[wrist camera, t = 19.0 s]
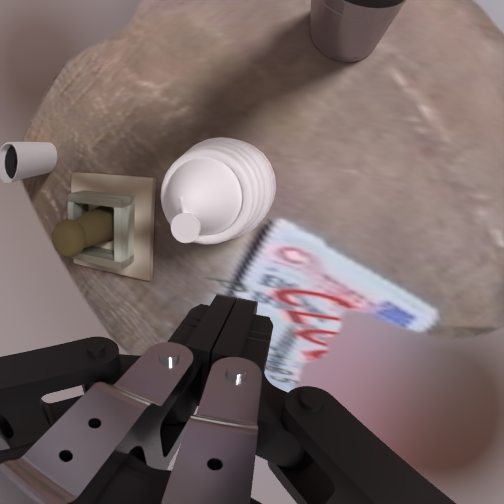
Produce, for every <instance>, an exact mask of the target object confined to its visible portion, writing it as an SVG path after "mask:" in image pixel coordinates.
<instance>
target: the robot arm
mask: <svg viewBox="0 0 504 504" xmlns="http://www.w3.org/2000/svg"><path fill="white" fill-rule="evenodd" d="M405 1H406V0H311V19H310V32H311V37H312V40H313V42H314V44H315V45H316V47H317V48H318V49H319V50H320V51H321V52H322V53H323V54H325V55H326V56H328V57H330V58H332V59H334V60H338V61H341V62H356V61H359V60H362V59H364V58H366V57H368V56H369V55H370V54H371V53H372V51H373V50H374V48H375V47H376V45H377V44H378V43H379V41H380V40H381V38H382V36H383V35H384V33H385V32H386V30H387V29H388V27H389V26H390V24H391V23H392V21H393V20H394V18H395V17H396V15H397V14H398V12H399V10H400V9H401V7H402V6H403V4H404V3H405ZM257 305H258V302H257V301H252V300H246V299H241V298H238V299H237V298H235V297H230V296H224V295H219V294H217V295H216V297H215V298H214V300H213V301H212V303H211V305H210V306H208V305H203V304H200V305H198V306H196V307H194V308H193V309H191V310H190V312H189V313H188V314H187V316H186V318H184V320H183V321H182V322H181V324H180V325H179V327H178V328H177V329H176V331H175V332H174V334H173V335H172V336H171V338H170V339H169V340H168V342H163V343H158V344H155V345H153V346H151V347H150V348H148V349H147V350H146V352H145V353H144V354H143V355H142V356H135V355H121V354H119V348H118V346H117V344H116V343H115V342H114V341H112V340H111V339H108V338H104V337H90V338H86V339H81V340H77V341H73V342H68V343H64V344H60V345H55V346H51V347H46V348H41V349H37V350H32V351H27V352H23V353H18V354H13V355H8V356H3V357H0V504H261V503H260V502H258V501H256V500H254V499H252V498H251V489H252V480H253V472H254V471H253V470H254V463H255V455H257V456H259V457H262V458H263V459H266V460H267V461H268V466H269V468H270V469H271V470H272V472H273V473H274V474H275V476H276V477H277V479H278V480H279V481H280V482H281V484H282V485H283V486H284V488H285V489H286V490H287V491H288V493H289V494H290V495H291V496H292V497H293V499H294V500H295V501H296V503H297V504H456V503H455V502H454V501H452V500H451V499H450V498H449V497H447V496H446V495H445V494H444V493H442V492H441V491H440V490H439V489H437V488H436V487H435V486H434V485H433V484H431V483H430V482H429V481H428V480H426V479H425V478H424V477H423V476H421V475H420V474H419V473H418V472H417V471H416V470H415V469H413V468H412V467H411V466H410V465H409V464H408V463H406V462H405V461H404V460H403V459H402V458H401V457H399V456H398V455H397V454H396V453H395V452H394V451H392V450H391V449H390V448H389V447H388V446H387V445H386V444H385V443H383V442H382V441H381V440H380V439H379V438H377V437H376V436H375V435H374V434H373V433H372V432H371V431H370V430H369V429H368V428H366V427H365V426H364V425H363V424H362V423H361V422H360V421H359V420H357V418H355V417H354V416H353V415H352V414H351V413H350V412H349V411H348V410H347V409H346V408H345V407H344V406H342V405H341V404H340V403H339V402H338V401H337V400H336V399H335V398H334V397H333V396H332V395H330V394H329V393H328V392H326V391H324V390H322V389H319V388H316V387H310V386H303V387H298V388H295V389H293V390H291V391H290V392H289V393H288V392H285V391H283V390H281V389H279V388H277V387H275V386H273V385H272V384H271V383H270V382H269V381H268V380H267V378H266V377H265V374H264V371H265V367H266V362H267V357H268V352H269V346H270V341H271V335H272V330H273V324H272V322H271V320H270V318H269V317H266V316H260V315H256V312H257ZM80 385H82V387H83V391H84V395H81V396H78V397H74V398H70V399H67V400H63V401H59V402H55V403H46V402H44V401H43V400H42V399H41V398H42V397H43V396H44V395H46V394H49V393H52V392H57V391H60V390H64V389H68V388H72V387H76V386H80ZM197 406H199V407H198V411H197V414H196V415H193V414H194V412H195V410H196V408H197ZM180 444H181V445H180ZM179 446H180V448H179ZM178 448H179V452H178V454H177V457H176V460H175V463H174V466H173V469H172V471H169V470H167V468H168V466H169V463H170V461H171V460H172V458H173V456H174V455H175V453H176V451H177V449H178Z"/></svg>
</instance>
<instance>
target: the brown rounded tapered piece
mask: <svg viewBox="0 0 504 504" xmlns="http://www.w3.org/2000/svg"><path fill="white" fill-rule="evenodd" d="M52 239H53V244H54V247H55V249H56V250H57V252H58V253H59V254H61V255H62V256H64V257H68V258H69V257H75V256H77V255H78V254H80V253H81V252H82V251H83V249H84V248H86V247H90V246H94V245H98V244H102V243H105V242H109V241H113V240H114V209H113V208H112V207H108V206H98V207H96V208H94V209H92V210H91V211H89V212H87V213H85V214H84V215H82V216H80V217H78V218H77V219H75V220H72V219H66V220H63V221H61V222H59V223H58V224H57V225H56V227H55V229H54V231H53V235H52Z"/></svg>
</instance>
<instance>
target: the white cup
mask: <svg viewBox="0 0 504 504" xmlns="http://www.w3.org/2000/svg"><path fill="white" fill-rule="evenodd" d="M56 162H57V151H56V148H55V146H54V145H53V144H52V143H49V142H7V143H5V144H4V145H3V146H2V147H1V149H0V178H1V179H2V181H3V182H6V183H9V182H13V181H17V180H21V179H25V178H29V177H33V176H37V175H41V174H46V173H50V172H51V171H52V170H53V169H54V167H55V165H56Z"/></svg>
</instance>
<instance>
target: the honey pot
mask: <svg viewBox="0 0 504 504" xmlns="http://www.w3.org/2000/svg"><path fill="white" fill-rule="evenodd" d="M275 190H276V183H275V175H274V172H273V169H272V166H271V164H270V162H269V161H268V160H267V158H266V157H265V155H264V154H263V153H262V152H261V151H259V150H258V149H257V148H256V147H254V146H253V145H251V144H248V143H246V142H244V141H241V140H237V139H232V138H224V137H218V138H211V139H206V140H204V141H202V142H200V143H197V144H195V145H194V146H192V147H191V148H190V149H189V150H188V151H186V152H185V153H184V154H183V155H182V156H181V157H180V158H179V159H177V160H176V161H175V162H174V163H173V164H172V165H171V167H170V168H169V170H168V171H167V172H166V174H165V177H164V180H163V183H162V188H161V203H162V209H163V211H164V214H165V216H166V219H167V221H168V222H169V223H170V225H171V232H172V234H173V236H174V237H175V238H176V239H177V240H178V241H180V242H182V243H190V242H195V243H200V244H205V245H206V244H218V243H221V242H224V241H227V240H229V239H234V238H237V237H240V236H243V235H245V234H247V233H248V232H250V231H251V230H253V229H254V228H256V226H257V225H258V224H259V223H260V222H261V221H262V219H263V218H264V217H265V215H266V214H267V212H268V211H269V209H270V207H271V205H272V203H273V200H274V196H275Z"/></svg>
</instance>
